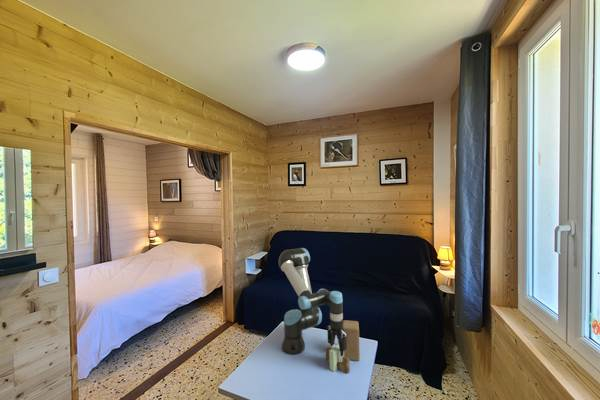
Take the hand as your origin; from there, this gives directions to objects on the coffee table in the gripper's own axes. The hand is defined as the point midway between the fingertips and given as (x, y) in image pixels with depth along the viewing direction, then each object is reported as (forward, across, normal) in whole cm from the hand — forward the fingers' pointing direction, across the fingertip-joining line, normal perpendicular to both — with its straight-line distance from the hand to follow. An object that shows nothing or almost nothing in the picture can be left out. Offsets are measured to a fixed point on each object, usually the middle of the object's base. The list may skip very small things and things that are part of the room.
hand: (337, 358), depth 146 cm
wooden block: (+5, 0, +14) cm, 15 cm away
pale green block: (+5, 0, 0) cm, 5 cm away
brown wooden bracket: (+5, 0, 0) cm, 5 cm away
